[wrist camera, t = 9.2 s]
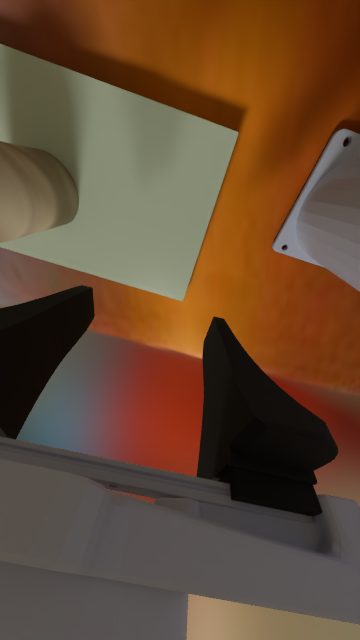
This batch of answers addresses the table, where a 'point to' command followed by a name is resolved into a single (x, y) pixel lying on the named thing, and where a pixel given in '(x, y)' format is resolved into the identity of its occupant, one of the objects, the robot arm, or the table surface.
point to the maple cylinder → (33, 192)
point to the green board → (116, 173)
